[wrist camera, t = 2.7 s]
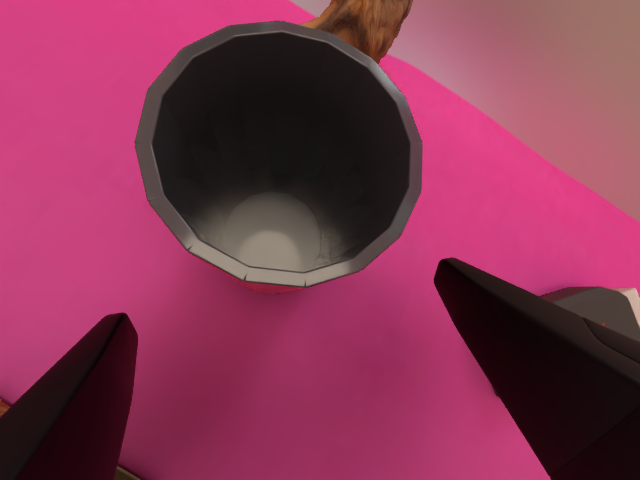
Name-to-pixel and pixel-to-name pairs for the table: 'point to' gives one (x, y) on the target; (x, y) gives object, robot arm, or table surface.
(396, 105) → the pen pot
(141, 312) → the table surface
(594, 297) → the usb drive
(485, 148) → the table surface
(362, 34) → the lion figurine
